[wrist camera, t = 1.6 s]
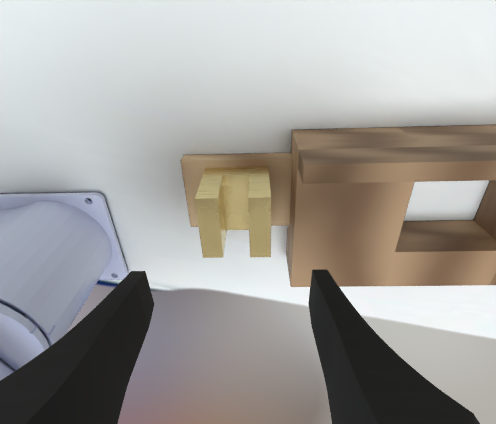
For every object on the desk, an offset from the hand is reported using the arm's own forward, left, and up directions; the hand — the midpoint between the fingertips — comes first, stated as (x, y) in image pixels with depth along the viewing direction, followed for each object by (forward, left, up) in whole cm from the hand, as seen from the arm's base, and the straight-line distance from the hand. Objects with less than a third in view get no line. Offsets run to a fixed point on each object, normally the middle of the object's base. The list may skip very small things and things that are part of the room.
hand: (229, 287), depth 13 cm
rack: (+8, -1, -9) cm, 12 cm away
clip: (0, 0, -8) cm, 8 cm away
